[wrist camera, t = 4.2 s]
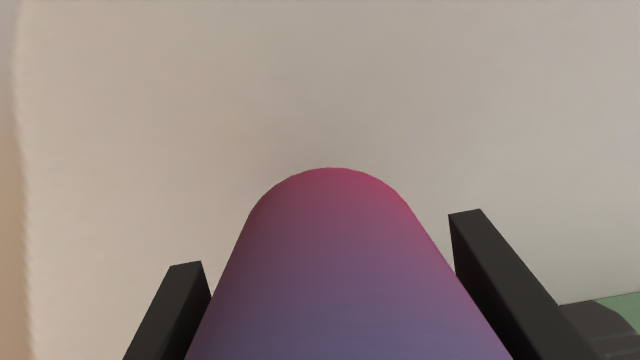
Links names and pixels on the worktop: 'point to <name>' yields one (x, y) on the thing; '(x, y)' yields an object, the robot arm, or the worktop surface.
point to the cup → (339, 282)
